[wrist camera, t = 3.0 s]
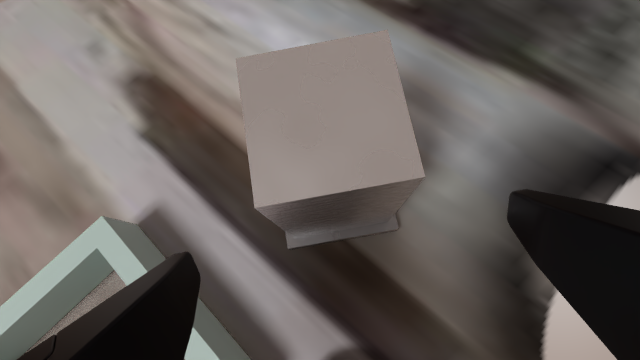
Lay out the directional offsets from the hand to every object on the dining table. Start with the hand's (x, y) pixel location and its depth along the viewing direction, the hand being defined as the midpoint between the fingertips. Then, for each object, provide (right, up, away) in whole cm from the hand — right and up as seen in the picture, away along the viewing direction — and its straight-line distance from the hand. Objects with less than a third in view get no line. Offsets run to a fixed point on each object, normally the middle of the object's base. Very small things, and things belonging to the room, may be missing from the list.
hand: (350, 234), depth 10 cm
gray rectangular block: (0, +1, +13) cm, 13 cm away
